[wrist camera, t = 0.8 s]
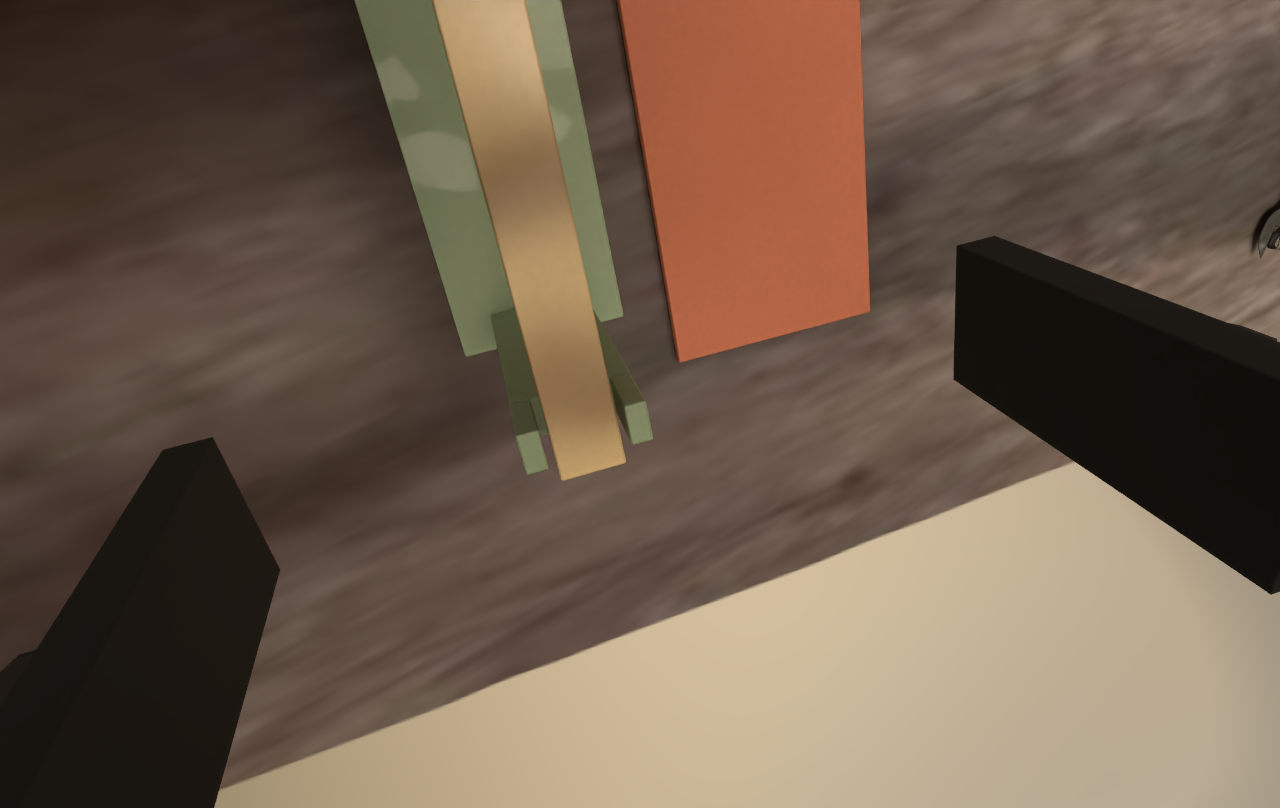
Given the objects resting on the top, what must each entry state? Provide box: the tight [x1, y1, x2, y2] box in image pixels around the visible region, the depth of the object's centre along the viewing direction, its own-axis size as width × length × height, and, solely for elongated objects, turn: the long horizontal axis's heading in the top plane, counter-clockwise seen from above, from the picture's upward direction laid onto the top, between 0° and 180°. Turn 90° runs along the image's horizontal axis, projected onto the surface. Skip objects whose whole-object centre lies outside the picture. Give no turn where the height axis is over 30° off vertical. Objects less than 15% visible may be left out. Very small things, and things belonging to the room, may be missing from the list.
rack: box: [354, 0, 653, 474], centre depth 28 cm, size 21×8×14 cm, turn 10°
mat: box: [617, 0, 870, 362], centre depth 36 cm, size 24×11×1 cm, turn 10°
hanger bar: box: [431, 0, 626, 480], centre depth 23 cm, size 22×2×2 cm, turn 10°
